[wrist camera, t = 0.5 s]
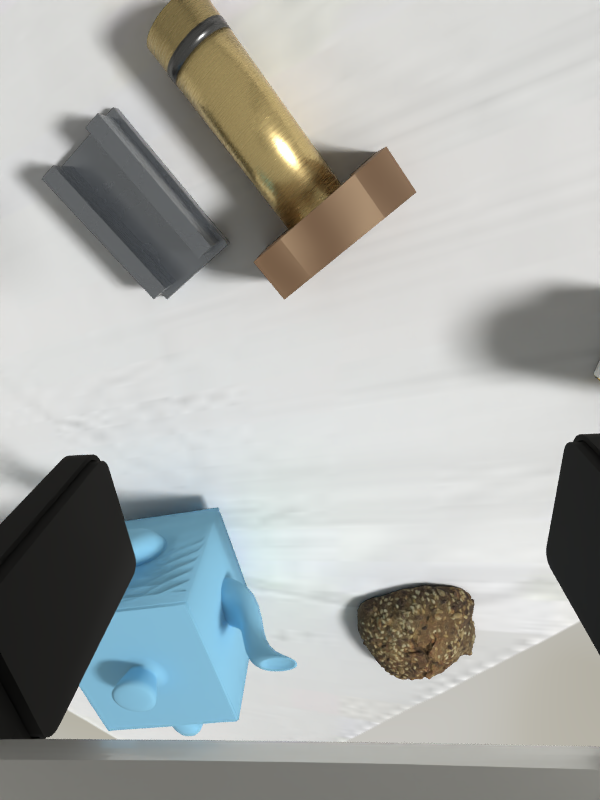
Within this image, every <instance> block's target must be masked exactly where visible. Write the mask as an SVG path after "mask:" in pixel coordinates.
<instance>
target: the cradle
mask: <svg viewBox="0 0 600 800" xmlns="http://www.w3.org/2000/svg"><path fill="white" fill-rule="evenodd" d="M86 129H87V130H88V131H89V132H90V133H91V134H90V135H89V136H88V137H87V138H86V139H85V141H84V142H83V143H82V144H81V145H80V146H79V148H78V149H77V150H76V151H75V152H74V153H73V154H72V156H71V157H70V158H69V159H68V160H67V161H66V163H65V164H64V165H63V166H52V167H51V169H50V170H49V171H48V172H47V173H46V174H45V176H44V177H43V178H42V180H43V181H44V182H45V183H46V184H47V185H48V186H49V187H50V188H51V189H52V190H53V191H54V192H55V194H56V195H57V196H58V197H59V198H60V199H61V200H62V201H63V202H64V203H65V204H66V205H67V206H68V208H69V209H70V210H71V211H72V212H73V213H74V214H75V215H76V216H77V217H78V218H79V219H80V220H81V221H82V223H83V224H84V225H85V226H86V227H87V228H88V229H89V230H90V231H91V232H92V233H93V234H94V235H95V237H96V238H97V239H98V240H99V241H100V242H101V243H102V244H103V245H104V246H105V247H106V248H107V249H108V250H109V252H110V253H111V254H112V255H113V256H114V257H115V258H116V259H117V260H118V261H119V262H120V263H121V264H122V266H123V267H124V268H125V269H126V270H127V271H128V272H129V273H130V274H131V275H132V276H133V277H134V278H135V279H136V281H137V282H138V283H139V284H140V285H141V286H142V287H143V288H144V289H145V290H146V291H147V292H148V293H149V295H150V296H151V297H152V298H153V299H155V298H156V297H158V296H159V295H161V294H163V295H164V296H165V298H166V299H168V298H169V297H170V296H172V295H173V294H174V293H175V292H176V291H177V290H178V289H179V288H180V287H181V286H183V285H184V284H185V283H186V282H187V281H188V280H189V279H190V278H191V277H193V276H194V275H195V274H196V273H197V272H198V271H199V270H200V269H201V268H202V267H204V266H205V265H206V264H207V263H208V262H209V261H210V260H211V259H212V258H213V257H215V256H216V255H217V254H218V253H219V252H220V251H221V250H222V249H223V248H225V247H226V246H227V245H228V244H229V242H228V240H227V239H226V238H225V237H224V236H223V234H222V233H221V232H220V231H219V230H218V228H217V227H216V226H215V225H214V224H213V222H212V221H211V220H210V219H209V218H208V216H207V215H206V214H205V213H204V212H203V210H202V209H201V208H200V207H199V206H198V204H197V203H196V202H195V201H194V200H193V198H192V197H191V196H190V195H189V194H188V192H187V191H186V190H185V189H184V188H183V186H182V185H181V184H180V183H179V181H178V180H177V179H176V178H175V177H174V175H173V174H172V173H171V172H170V171H169V169H168V168H167V167H166V166H165V165H164V163H163V162H162V161H161V160H160V159H159V157H158V156H157V155H156V154H155V153H154V151H153V150H152V149H151V148H150V147H149V145H148V144H147V143H146V142H145V141H144V139H143V138H142V137H141V136H140V135H139V133H138V132H137V131H136V130H135V129H134V127H133V126H132V125H131V124H130V122H129V121H128V120H127V119H126V118H125V116H124V115H123V114H122V113H121V112H120V110H119V109H117V108H114V107H113V108H112V109H111V111H110V112H109V113H108V114H107V115H102V114H99V113H98V114H97V115H96V116H95V117H94V118H93V120H92V121H91V122H90V123H89V124H88V125H87V127H86Z"/></svg>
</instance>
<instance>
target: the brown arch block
mask: <svg viewBox="0 0 600 800" xmlns="http://www.w3.org/2000/svg"><path fill="white" fill-rule="evenodd" d="M415 193H416V191H415V189H414V188H413V186H412V185H411V183H410V182H409V180H408V179H407V177H406V176H405V174H404V173H403V171H402V170H401V168H400V167H399V165H398V164H397V162H396V160H395V159H394V157H393V156H392V154H391V153H390V151H389V150H388V148H387V147H385V148H383V149H381V150H379V151H378V152H376V153H375V154H374V155H373V156H372V157H370V158H369V159H368V160H367V161H366V162H365V163H364V164H362V165H361V166H360V167H359V168H358V169H357V170H356V171H354V172H353V173H352V174H351V177H350V178H349V179H348V180H347V181H346V182H345V183H343V184H342V185H341V186H340V187H339V188H338V189H336V190H335V191H334V192H333V193H332V194H331V195H330V196H328V197H327V198H326V199H325V200H324V201H323V202H322V203H320V204H319V205H318V206H317V207H316V208H315V209H313V210H312V211H311V212H310V213H309V214H308V215H307V216H305V217H304V218H303V219H302V220H301V221H300V222H299V223H297V224H296V225H295V226H294V227H293V228H292V229H290V230H287V231H286V232H284V233H283V234H282V235H281V236H280V237H279V238H278V239H276V240H275V241H274V242H273V243H272V244H271V245H269V246H268V247H267V248H266V249H265V250H264V251H263V252H262V253H261V254H260V256H259V257H258V258H257V259H256V260H255V261H254V263H255V265H256V266H257V267H258V268H259V269H260V271H261V272H262V273H263V274H264V275H265V277H266V278H267V279H268V280H269V282H270V283H271V284H272V285H273V286H274V288H275V289H276V290H277V291H278V292H279V294H280V295H281V296H282V297H283V299H286V298H287V297H288V296H289V295H291V294H292V293H293V292H294V291H296V290H297V289H298V288H299V287H300V286H302V285H303V284H304V283H305V282H307V281H308V280H309V279H310V278H312V277H313V276H314V275H315V274H316V273H318V272H319V271H320V270H321V269H323V268H324V267H325V266H326V265H327V264H329V263H330V262H331V261H332V260H334V259H335V258H336V257H337V256H339V255H340V254H341V253H342V252H343V251H345V250H346V249H347V248H348V247H350V246H351V245H352V244H353V243H355V242H356V241H357V240H358V239H359V238H361V237H362V236H363V235H364V234H366V233H367V232H368V231H369V230H371V229H372V228H373V227H374V226H375V225H377V224H378V223H379V222H380V221H382V220H383V219H384V218H385V217H387V216H388V215H389V214H390V213H391V212H393V211H394V210H395V209H396V208H398V207H399V206H400V205H401V204H403V203H404V202H405V201H406V200H407V199H409V198H410V197H411V196H412V195H414V194H415Z"/></svg>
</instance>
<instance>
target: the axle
mask: <svg viewBox="0 0 600 800" xmlns="http://www.w3.org/2000/svg"><path fill="white" fill-rule="evenodd" d="M147 47H148V49H149V50H150V51H151V53H152V54H153V55H154V57H155V58H156V59H157V60H158V62H159V63H160V64H161V66H162V67H163V68H164V69H165V71H166V72H167V74H168V75H169V77H170V78H171V79H172V81H173V82H174V83H175V84H176V86H177V87H179V89H180V90H181V91H182V93H183V94H184V95H185V96H186V98H187V99H188V100H189V102H190V103H191V104H192V105H193V107H194V108H195V109H196V111H197V112H198V113H199V114H200V116H201V117H202V118H203V120H204V121H205V122H206V123H207V125H208V126H209V127H210V129H211V130H212V131H213V133H214V134H215V135H216V136H217V138H218V139H219V140H220V142H221V143H222V144H223V145H224V147H225V148H226V149H227V151H228V152H229V153H230V154H231V156H232V157H233V158H234V160H235V161H236V162H237V163H238V165H239V166H240V167H241V169H242V170H243V171H244V172H245V174H246V175H247V176H248V178H249V179H250V180H251V181H252V183H253V184H254V185H255V187H256V188H257V189H258V190H259V192H260V193H261V194H262V196H263V197H264V198H265V199H266V201H267V202H268V203H269V205H270V206H271V207H272V208H273V210H274V211H275V212H276V214H277V215H278V216H279V217H280V219H281V220H282V221H283V223H284V224H285V225H286V226H287V228H288V229H289V230H290V229H292V228H293V227H294V226H295V225H296V224H297V223H299V222H300V221H301V220H302V219H303V218H304V217H305V216H307V215H308V214H309V213H310V212H311V211H312V210H313V209H315V208H316V207H317V206H318V205H319V204H320V203H322V202H323V201H324V200H325V199H326V198H327V197H328V196H330V195H331V194H332V193H333V192H334V191H335V190H336V189H338V188H339V187H340V186H341V184H340V183H339V181H338V180H337V178H336V177H335V176H334V174H333V173H332V171H331V170H330V169H329V167H328V166H327V164H326V163H325V162H324V160H323V159H322V157H321V156H320V155H319V153H318V152H317V150H316V149H315V148H314V146H313V145H312V143H311V142H310V141H309V139H308V138H307V136H306V135H305V133H304V132H303V131H302V129H301V128H300V126H299V125H298V124H297V122H296V121H295V119H294V118H293V117H292V115H291V114H290V112H289V111H288V110H287V108H286V107H285V105H284V104H283V103H282V101H281V100H280V98H279V97H278V96H277V94H276V93H275V91H274V90H273V89H272V87H271V86H270V84H269V83H268V81H267V80H266V79H265V77H264V76H263V74H262V73H261V72H260V70H259V69H258V67H257V66H256V65H255V63H254V62H253V60H252V59H251V58H250V56H249V55H248V53H247V52H246V51H245V49H244V48H243V46H242V45H241V44H240V42H239V41H238V39H237V38H236V37H235V35H234V34H233V32H232V31H231V29H230V27H229V26H228V24H227V23H226V22H225V20H224V19H223V17H222V16H221V15H220V14H219V13H218V11H217V10H216V8H215V7H214V6H213V4H212V3H211V1H210V0H171V1H170V2H169V3H168V4H167V5H166V6H165V7H164V8H163V10H162V11H161V12H160V14H159V15H158V16H157V18H156V20H155V21H154V23H153V25H152V27H151V29H150V31H149V34H148V38H147Z"/></svg>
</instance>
